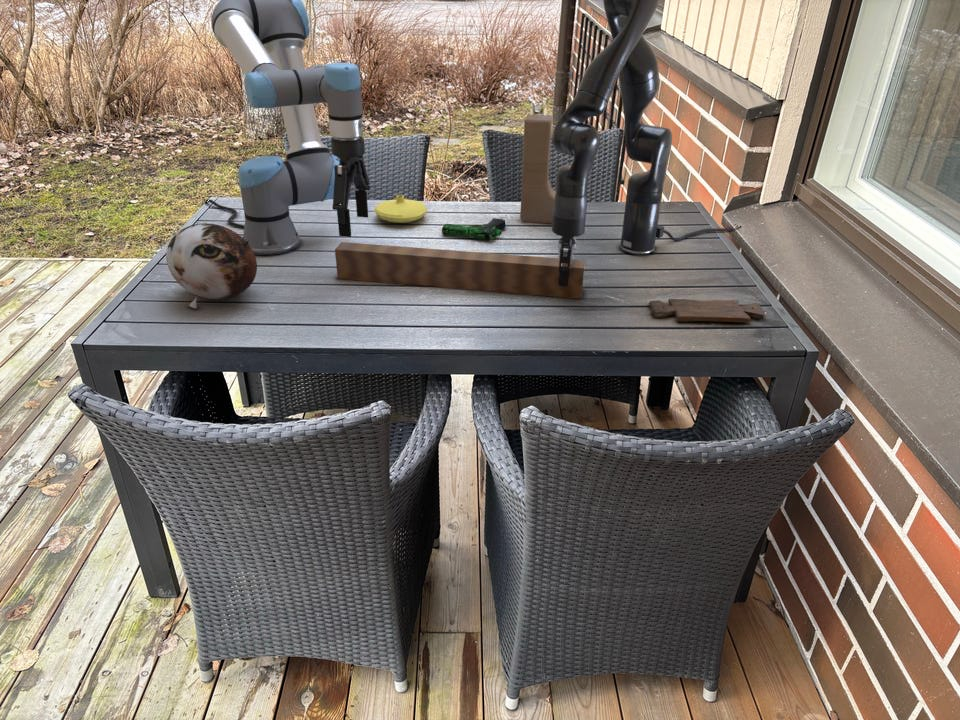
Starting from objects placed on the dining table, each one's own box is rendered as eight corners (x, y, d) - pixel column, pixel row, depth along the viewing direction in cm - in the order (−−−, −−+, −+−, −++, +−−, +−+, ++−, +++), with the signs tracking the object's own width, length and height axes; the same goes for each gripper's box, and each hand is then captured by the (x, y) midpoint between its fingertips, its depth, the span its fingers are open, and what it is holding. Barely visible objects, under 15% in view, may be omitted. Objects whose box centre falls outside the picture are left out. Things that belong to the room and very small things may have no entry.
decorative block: (569, 225, 214) (578, 121, 198) (519, 222, 215) (524, 119, 200) (570, 216, 220) (578, 116, 205) (522, 213, 222) (526, 113, 206)
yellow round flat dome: (398, 206, 226) (397, 184, 222) (437, 217, 218) (437, 194, 214) (364, 220, 215) (362, 197, 211) (403, 231, 207) (402, 208, 203)
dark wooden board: (769, 325, 160) (756, 306, 169) (771, 319, 159) (757, 299, 168) (654, 321, 161) (647, 302, 169) (655, 314, 160) (648, 295, 168)
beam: (337, 278, 179) (334, 249, 175) (343, 270, 183) (341, 241, 179) (581, 298, 171) (584, 268, 167) (582, 290, 175) (585, 260, 171)
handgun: (511, 219, 210) (493, 234, 198) (511, 228, 211) (492, 244, 199) (461, 212, 215) (440, 226, 203) (461, 221, 217) (440, 236, 204)
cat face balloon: (130, 285, 161) (164, 203, 163) (192, 308, 177) (221, 233, 178) (195, 307, 151) (229, 220, 152) (254, 330, 166) (285, 250, 168)
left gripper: (345, 151, 151) (353, 245, 162) (378, 125, 173) (383, 210, 184) (311, 149, 152) (321, 243, 163) (348, 123, 174) (355, 208, 185)
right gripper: (585, 224, 156) (578, 293, 165) (587, 203, 169) (581, 268, 177) (550, 222, 157) (546, 290, 166) (555, 201, 170) (550, 266, 178)
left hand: (354, 226), depth 173 cm, fingers open, 13 cm apart
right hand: (564, 279), depth 172 cm, fingers open, 6 cm apart
